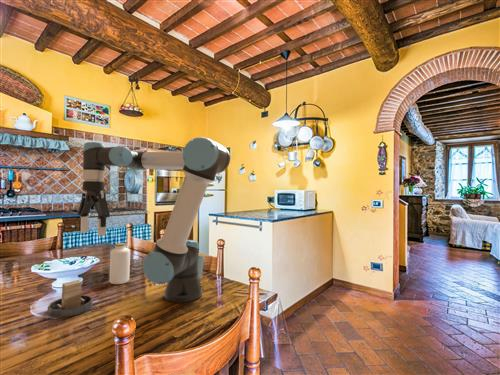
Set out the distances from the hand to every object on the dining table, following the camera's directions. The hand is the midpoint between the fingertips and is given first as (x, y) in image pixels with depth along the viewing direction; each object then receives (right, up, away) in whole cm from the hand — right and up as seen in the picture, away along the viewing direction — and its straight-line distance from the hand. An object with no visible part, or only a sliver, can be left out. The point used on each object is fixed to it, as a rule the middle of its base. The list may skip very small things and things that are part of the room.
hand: (92, 233), depth 104 cm
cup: (+36, -27, +25) cm, 52 cm away
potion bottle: (+2, -26, +18) cm, 32 cm away
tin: (-1, -25, -10) cm, 27 cm away
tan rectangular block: (-1, -25, -10) cm, 27 cm away
